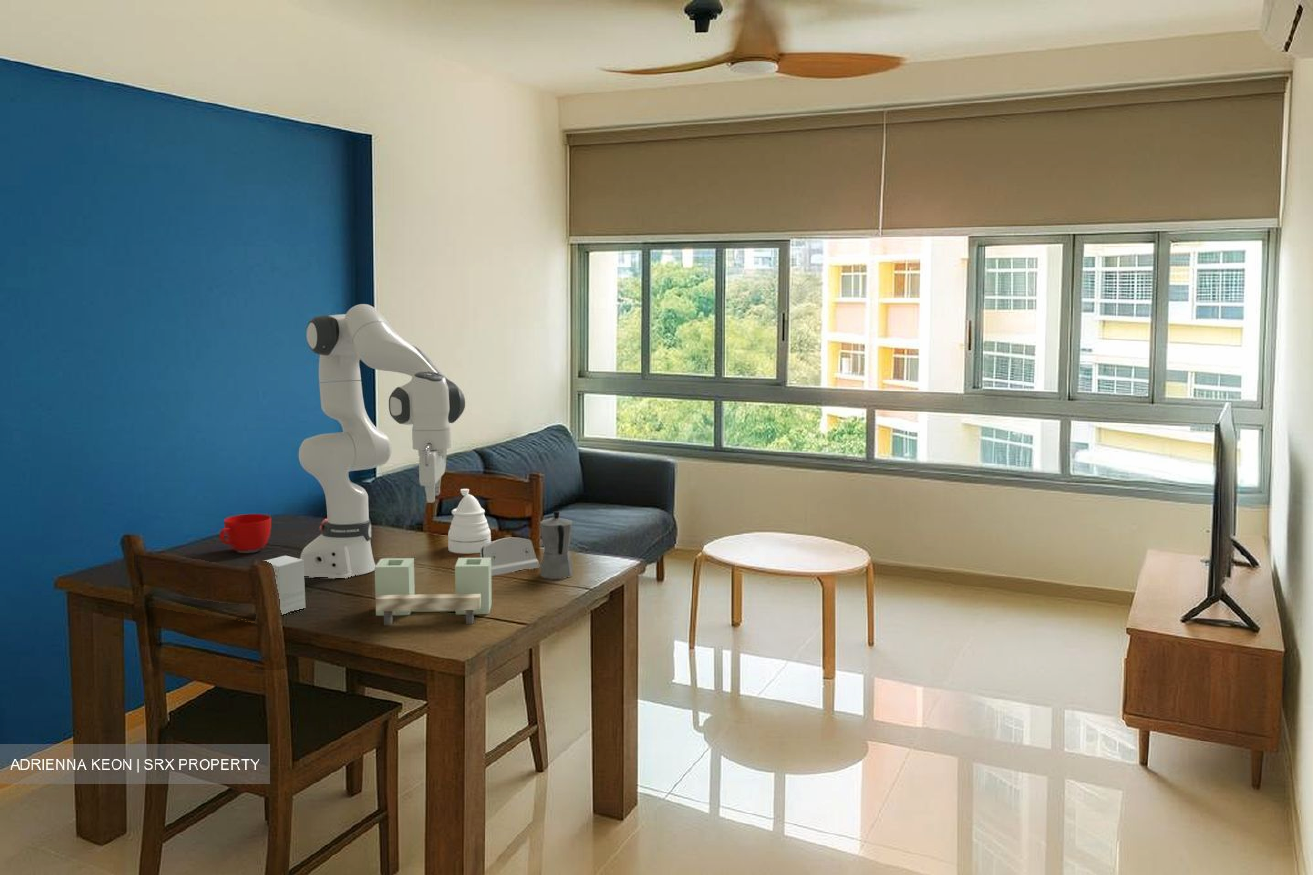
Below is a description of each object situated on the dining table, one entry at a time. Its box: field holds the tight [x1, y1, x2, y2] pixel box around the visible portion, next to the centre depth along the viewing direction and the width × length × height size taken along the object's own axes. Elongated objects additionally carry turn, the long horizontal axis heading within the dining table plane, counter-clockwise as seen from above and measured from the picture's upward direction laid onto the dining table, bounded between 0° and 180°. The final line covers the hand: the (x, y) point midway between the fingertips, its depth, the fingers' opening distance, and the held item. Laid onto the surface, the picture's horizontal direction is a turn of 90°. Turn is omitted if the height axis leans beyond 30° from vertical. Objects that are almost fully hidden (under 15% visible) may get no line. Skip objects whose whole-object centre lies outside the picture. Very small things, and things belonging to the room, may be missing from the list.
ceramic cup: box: [219, 513, 272, 551], centre depth 299 cm, size 13×17×10 cm
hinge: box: [479, 536, 541, 577], centre depth 286 cm, size 17×5×10 cm, turn 127°
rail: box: [375, 593, 481, 626], centre depth 239 cm, size 24×3×6 cm, turn 95°
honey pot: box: [447, 488, 492, 555], centre depth 308 cm, size 13×13×18 cm
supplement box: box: [264, 555, 307, 615], centre depth 246 cm, size 7×7×13 cm
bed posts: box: [374, 557, 493, 616], centre depth 248 cm, size 27×8×12 cm, turn 95°
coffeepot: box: [539, 510, 574, 580], centre depth 279 cm, size 15×9×18 cm, turn 15°
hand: (433, 498), depth 241 cm, fingers open, 8 cm apart
